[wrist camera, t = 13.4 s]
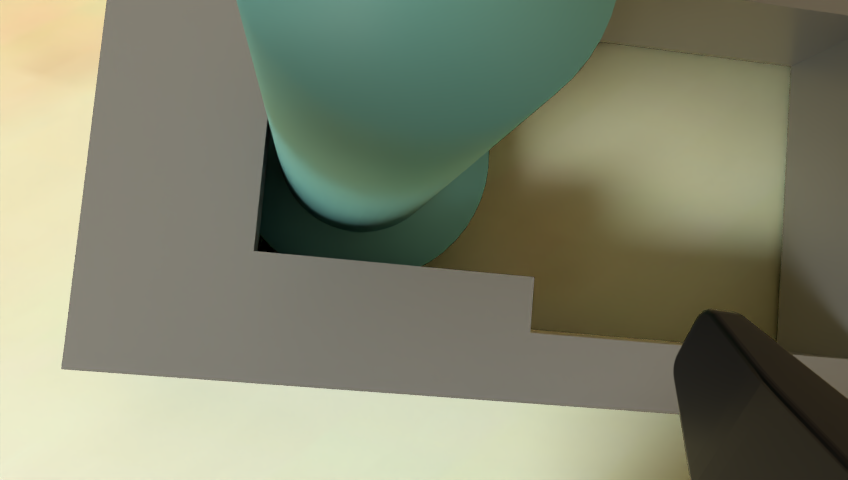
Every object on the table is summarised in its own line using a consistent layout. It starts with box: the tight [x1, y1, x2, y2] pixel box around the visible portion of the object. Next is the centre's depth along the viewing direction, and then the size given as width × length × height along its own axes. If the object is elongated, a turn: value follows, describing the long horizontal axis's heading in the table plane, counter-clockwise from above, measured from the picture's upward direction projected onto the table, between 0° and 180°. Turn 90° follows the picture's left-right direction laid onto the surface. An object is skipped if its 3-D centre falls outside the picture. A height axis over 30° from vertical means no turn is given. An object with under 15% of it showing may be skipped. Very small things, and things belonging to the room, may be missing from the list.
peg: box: [236, 0, 616, 267], centre depth 14 cm, size 6×6×13 cm
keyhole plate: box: [62, 0, 848, 414], centre depth 19 cm, size 19×11×4 cm, turn 85°
